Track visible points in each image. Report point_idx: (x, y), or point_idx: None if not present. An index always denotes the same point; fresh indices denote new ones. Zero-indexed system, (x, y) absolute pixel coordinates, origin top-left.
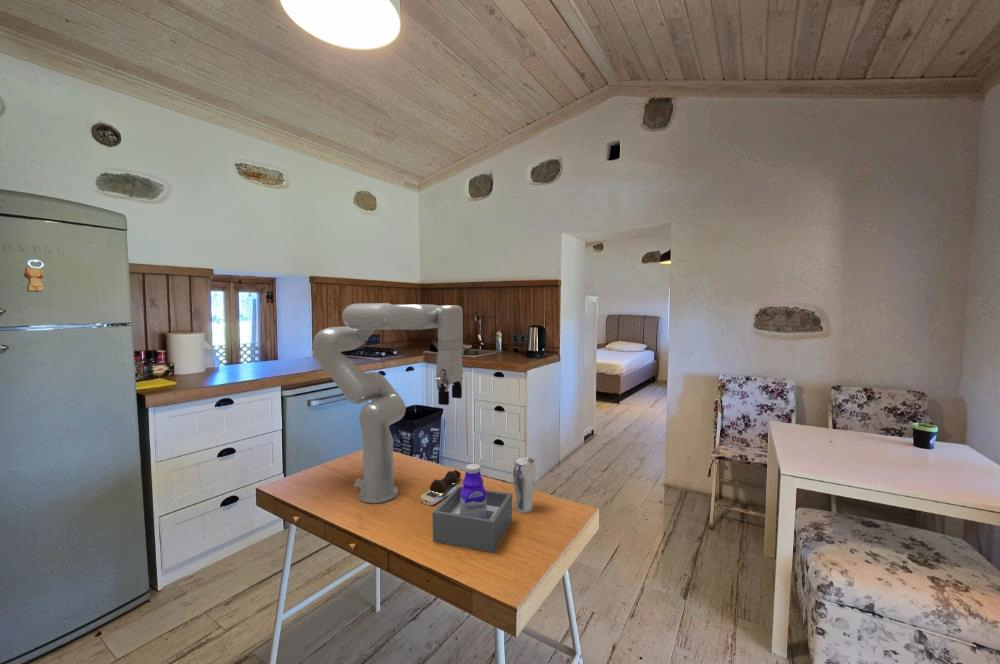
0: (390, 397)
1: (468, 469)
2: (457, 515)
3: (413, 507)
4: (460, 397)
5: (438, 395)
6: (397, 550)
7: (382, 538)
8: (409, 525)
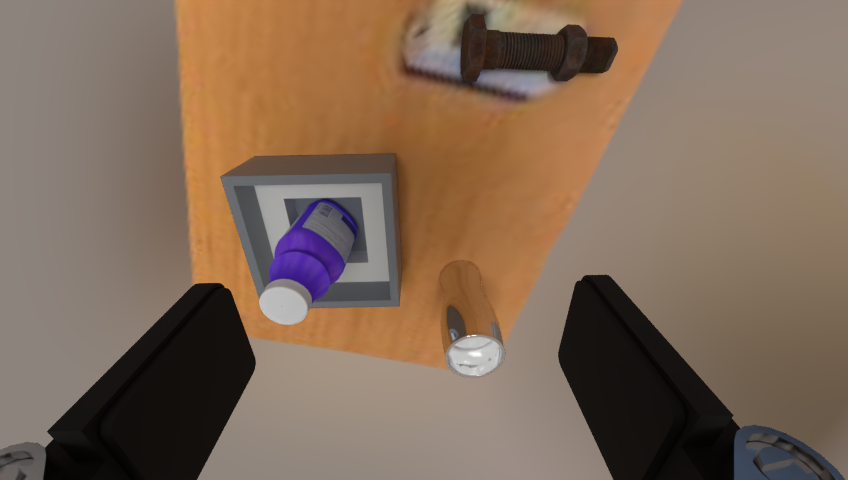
0: None
1: (260, 300)
2: (243, 237)
3: (371, 10)
4: (560, 361)
5: (119, 360)
6: (181, 96)
7: (193, 22)
8: (282, 60)
